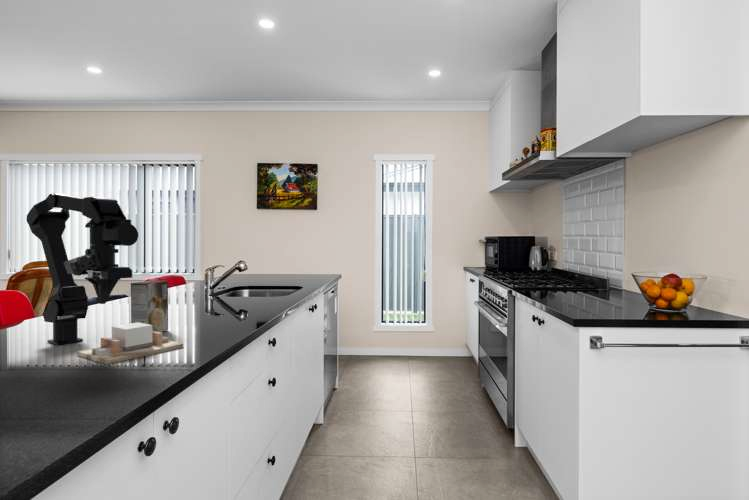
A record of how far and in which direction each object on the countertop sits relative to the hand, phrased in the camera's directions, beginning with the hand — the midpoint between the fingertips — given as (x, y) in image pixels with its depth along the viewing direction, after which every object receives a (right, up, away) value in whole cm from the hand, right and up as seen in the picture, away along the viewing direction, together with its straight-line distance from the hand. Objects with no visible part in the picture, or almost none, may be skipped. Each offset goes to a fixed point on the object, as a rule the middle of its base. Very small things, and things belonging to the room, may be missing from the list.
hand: (102, 303), depth 117 cm
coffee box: (+3, -12, +20) cm, 23 cm away
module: (+9, -11, -2) cm, 14 cm away
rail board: (+9, -12, -2) cm, 15 cm away
